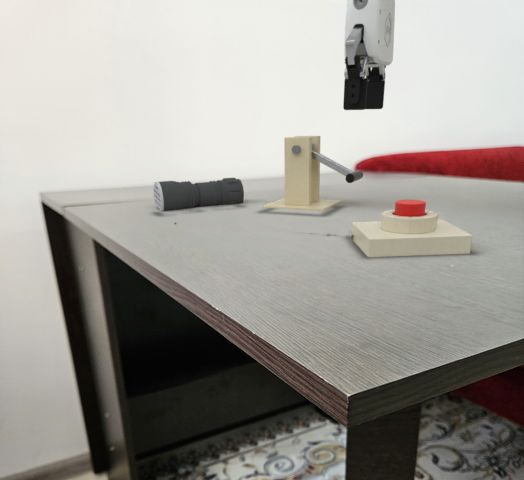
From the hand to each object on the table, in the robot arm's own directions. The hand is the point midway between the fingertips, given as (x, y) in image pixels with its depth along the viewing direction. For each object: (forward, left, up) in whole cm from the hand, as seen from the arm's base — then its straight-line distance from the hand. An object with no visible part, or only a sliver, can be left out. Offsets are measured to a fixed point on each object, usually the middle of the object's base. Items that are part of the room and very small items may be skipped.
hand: (363, 109), depth 79 cm
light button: (-1, +22, -12) cm, 25 cm away
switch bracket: (+9, -6, -16) cm, 19 cm away
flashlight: (+27, -9, -16) cm, 32 cm away
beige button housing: (-1, +22, -16) cm, 27 cm away
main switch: (+5, -4, -9) cm, 11 cm away
